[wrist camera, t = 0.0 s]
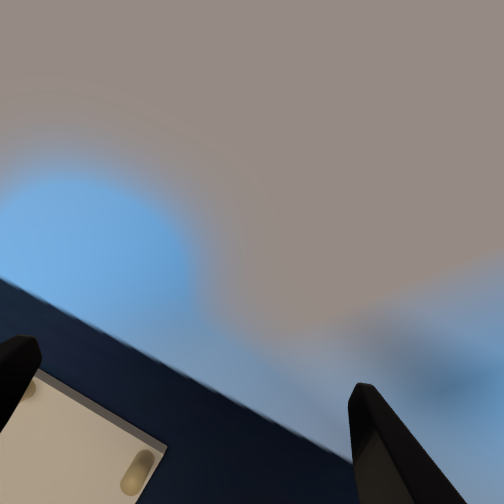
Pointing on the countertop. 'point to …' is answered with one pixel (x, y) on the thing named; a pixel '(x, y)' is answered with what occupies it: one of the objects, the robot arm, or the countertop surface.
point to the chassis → (72, 450)
